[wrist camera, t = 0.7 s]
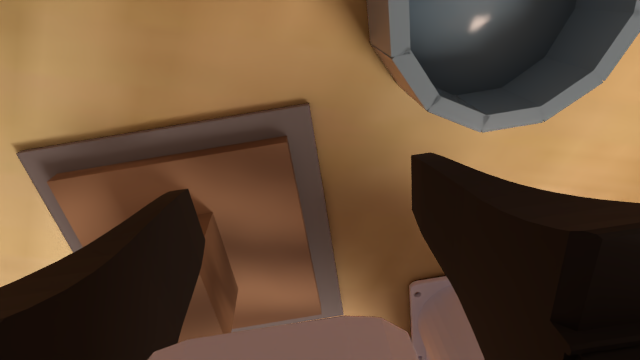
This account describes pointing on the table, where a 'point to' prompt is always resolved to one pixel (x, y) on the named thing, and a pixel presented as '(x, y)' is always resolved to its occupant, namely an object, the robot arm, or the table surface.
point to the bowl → (500, 54)
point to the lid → (214, 227)
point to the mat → (199, 137)
